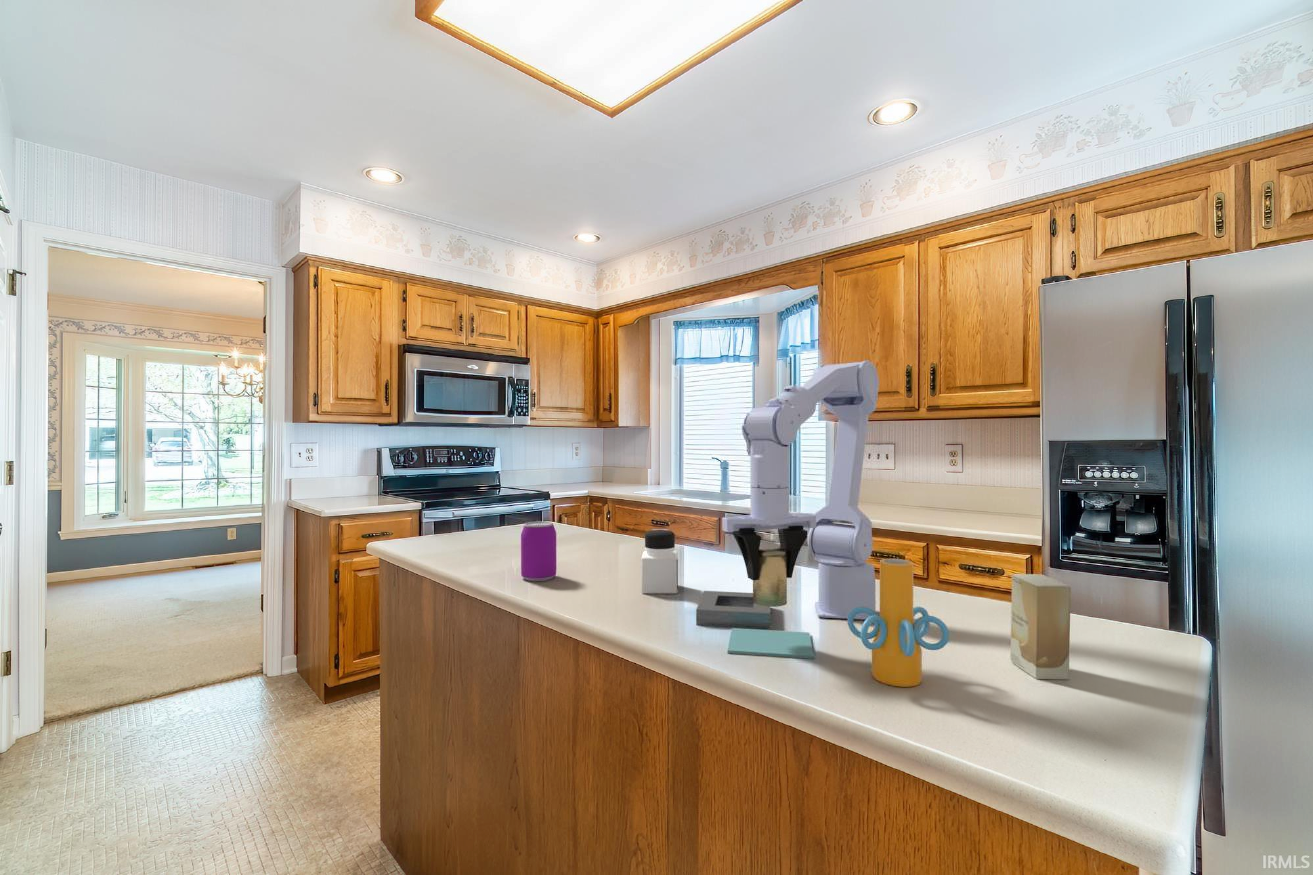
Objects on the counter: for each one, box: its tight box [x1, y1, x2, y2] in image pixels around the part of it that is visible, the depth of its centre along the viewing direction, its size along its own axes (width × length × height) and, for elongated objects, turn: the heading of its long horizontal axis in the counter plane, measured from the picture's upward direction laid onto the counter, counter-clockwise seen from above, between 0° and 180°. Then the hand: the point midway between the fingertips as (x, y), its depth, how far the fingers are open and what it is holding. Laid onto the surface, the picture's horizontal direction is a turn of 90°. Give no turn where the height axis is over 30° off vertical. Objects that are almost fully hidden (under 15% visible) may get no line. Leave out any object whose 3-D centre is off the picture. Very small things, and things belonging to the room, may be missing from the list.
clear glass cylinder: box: [752, 545, 788, 608], centre depth 90 cm, size 5×5×8 cm
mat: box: [727, 627, 815, 660], centre depth 90 cm, size 12×10×1 cm
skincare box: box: [1010, 573, 1072, 680], centre depth 79 cm, size 6×4×12 cm
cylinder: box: [847, 558, 950, 688], centre depth 77 cm, size 12×10×15 cm
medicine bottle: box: [641, 528, 679, 595], centre depth 121 cm, size 7×7×12 cm
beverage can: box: [520, 520, 557, 582], centre depth 131 cm, size 8×8×12 cm
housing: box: [695, 590, 771, 630], centre depth 104 cm, size 12×12×2 cm
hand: (769, 577), depth 90 cm, fingers closed on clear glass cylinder, 5 cm apart
